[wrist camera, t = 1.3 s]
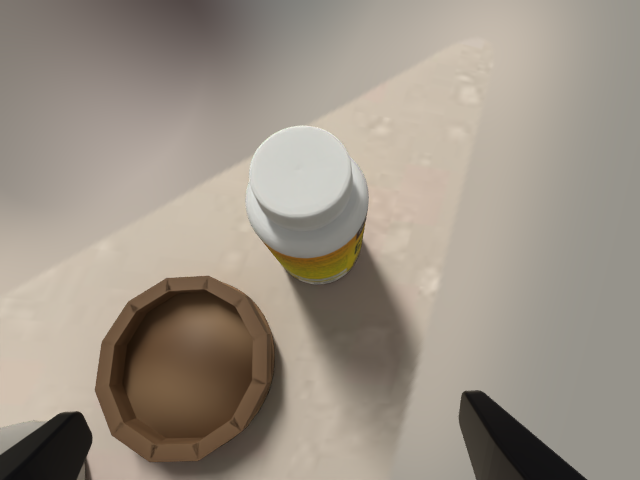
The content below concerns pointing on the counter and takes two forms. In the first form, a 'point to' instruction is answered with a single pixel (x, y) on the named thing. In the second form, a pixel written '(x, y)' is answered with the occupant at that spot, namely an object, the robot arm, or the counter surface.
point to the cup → (14, 433)
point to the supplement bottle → (308, 203)
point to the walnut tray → (184, 368)
